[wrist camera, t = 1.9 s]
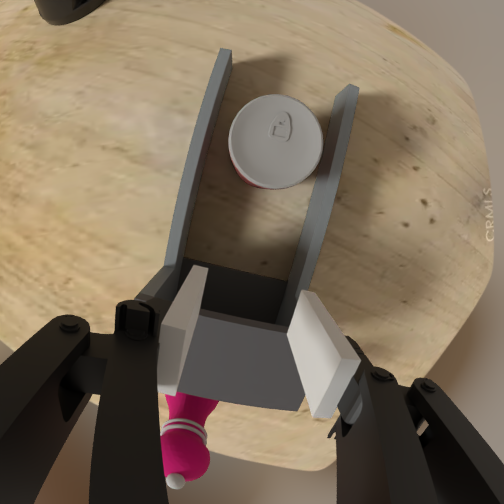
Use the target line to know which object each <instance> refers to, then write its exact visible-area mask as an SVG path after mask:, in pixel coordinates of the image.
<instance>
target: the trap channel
mask: <svg viewBox="0 0 504 504" xmlns="http://www.w3.org/2000/svg"><path fill="white" fill-rule="evenodd" d="M231 71H232V50H229V49H223V48H220V51H219V54H218V56H217V59H216V62H215V65H214V68H213V71H212V74H211V77H210V80H209V83H208V86H207V89H206V92H205V95H204V99H203V102H202V105H201V108H200V112H199V115H198V119H197V122H196V126H195V129H194V133H193V136H192V140H191V144H190V147H189V151H188V155H187V159H186V163H185V167H184V171H183V175H182V179H181V183H180V188H179V192H178V196H177V201H176V205H175V210H174V215H173V220H172V224H171V229H170V235H169V240H168V245H167V250H166V256H165V262H164V266H163V267H162V268H161V269H160V271H159V272H158V273H157V274H156V275H155V276H154V277H153V278H152V279H151V280H150V281H149V283H148V284H147V285H146V286H145V287H144V288H143V289H142V290H141V291H140V293H139V294H138V295H137V296H136V297H135V299H134V300H140V301H143V302H146V301H147V300H150V299H152V298H154V297H157V298H161V299H164V300H168V301H172V302H173V301H174V299H175V297H176V296H177V294H178V292H179V290H180V288H181V287H182V285H183V283H184V281H185V279H186V278H187V276H188V274H189V272H190V271H191V269H192V267H193V265H197V266H201V267H205V268H208V273H207V277H206V282H205V287H204V291H203V296H202V301H201V306H200V310H199V315H198V319H197V322H196V326H195V329H194V332H193V336H192V339H191V343H190V346H189V349H188V353H187V356H186V360H185V363H184V367H183V370H182V374H181V377H180V381H179V385H178V388H177V392H181V393H185V394H189V395H194V396H198V397H203V398H208V399H213V400H218V401H223V402H229V403H235V404H241V405H247V406H254V407H262V408H270V409H278V410H288V411H298V409H299V407H300V405H301V403H302V401H303V399H304V397H305V391H304V388H303V385H302V382H301V379H300V375H299V372H298V369H297V366H296V362H295V359H294V356H293V353H292V350H291V346H290V343H289V340H288V337H287V332H288V329H289V326H290V324H291V321H292V318H293V315H294V312H295V308H296V305H297V302H298V299H299V296H300V293H301V290H306V291H308V288H309V285H310V282H311V279H312V276H313V273H314V269H315V266H316V263H317V259H318V256H319V253H320V249H321V246H322V243H323V239H324V236H325V232H326V229H327V225H328V221H329V218H330V214H331V211H332V207H333V203H334V199H335V195H336V192H337V188H338V184H339V180H340V176H341V172H342V168H343V163H344V159H345V155H346V151H347V146H348V142H349V137H350V133H351V128H352V123H353V119H354V114H355V109H356V104H357V99H358V93H359V87H357V86H354V85H352V84H349V85H347V86H346V87H345V88H344V89H343V90H342V91H341V92H340V93H338V94H337V95H336V96H335V101H334V105H333V110H332V114H331V119H330V123H329V127H328V132H327V136H326V140H325V144H324V149H323V153H322V157H321V161H320V165H319V169H318V173H317V177H316V181H315V185H314V188H313V192H312V196H311V200H310V204H309V207H308V211H307V215H306V219H305V222H304V226H303V229H302V233H301V237H300V240H299V244H298V247H297V251H296V254H295V258H294V261H293V265H292V268H291V271H290V275H289V278H288V281H283V280H279V279H274V278H270V277H265V276H261V275H257V274H252V273H248V272H244V271H239V270H235V269H231V268H227V267H222V266H218V265H214V264H210V263H205V262H201V261H197V260H193V259H189V258H185V257H184V252H185V247H186V242H187V237H188V233H189V228H190V223H191V219H192V214H193V210H194V205H195V201H196V197H197V192H198V188H199V184H200V180H201V176H202V172H203V168H204V164H205V160H206V156H207V152H208V149H209V145H210V141H211V138H212V134H213V130H214V127H215V123H216V120H217V116H218V113H219V109H220V106H221V103H222V99H223V96H224V93H225V89H226V86H227V83H228V80H229V77H230V74H231Z"/></svg>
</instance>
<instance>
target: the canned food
mask: <svg viewBox="0 0 504 504" xmlns="http://www.w3.org/2000/svg"><path fill="white" fill-rule="evenodd" d="M228 142H229V152H230V156H231V160H232V163H233V166H234V168H235V170H236V172H237V174H238V175H239V176H240V178H241V179H243V180H244V181H245V182H246V183H248V184H249V185H251V186H254V187H257V188H263V189H273V190H274V189H285V188H288V187H292V186H294V185H296V184H298V183H300V182H302V181H303V180H304V179H305V178H307V177H308V176H309V175H310V174H311V173H312V172H313V170H314V169H315V168H316V166H317V164H318V162H319V161H320V158H321V154H322V150H323V133H322V130H321V126H320V124H319V122H318V120H317V118H316V116H315V115H314V113H313V112H312V111H311V110H310V109H309V108H308V107H307V106H306V105H305V104H304V103H302V102H300V101H299V100H297V99H295V98H292V97H290V96H287V95H280V94H269V95H265V96H261V97H258V98H256V99H254V100H252V101H250V102H249V103H248V104H246V105H245V106H244V107H243V108H242V109H241V110H240V111H239V112H238V114H237V115H236V117H235V119H234V120H233V123H232V125H231V128H230V132H229V139H228Z"/></svg>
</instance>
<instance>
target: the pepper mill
mask: <svg viewBox="0 0 504 504" xmlns="http://www.w3.org/2000/svg"><path fill="white" fill-rule="evenodd" d="M165 396H166V400H167V403H168V406H169V420H168V421H166V422H165V423H164V424H163V426H162V430H161V432H160V437H161V448H162V458H163V466H164V475H165V477H167V478H166V482H167V484H168V486H169V487H171V488H173V489H180V488H182V487H183V486H184V485H185V481H192V480H195V479H197V478H200V477H201V476H202V475H203V474H204V473H205V472H206V471H207V469H208V466H209V463H210V454H209V451H208V449H207V447H206V444H207V432H206V430H205V429H204V425H205V421H206V419H207V417H208V415H209V414H210V413H211V412H212V411H213V410H214V409H215V407H216V406H217V404H218V402H219V401H218V400H213V399H208V398H203V397H198V396H194V395H189V394H185V393H181V392H176V395H175V396H171V395H168V394H165Z"/></svg>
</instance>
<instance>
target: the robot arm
mask: <svg viewBox="0 0 504 504" xmlns="http://www.w3.org/2000/svg"><path fill="white" fill-rule="evenodd" d="M34 1H35V4H36V6H37V8H38V10H39V14H40V16H41V17H42V18H43V19H44V20H45V21H46V22H48V23H49V24H51V25H64V24H68V23H71V22H73V21H75V20H78V19H80V18H81V17H83V16H85V15H87V14H88V13H90V12H91V11H93V10H94V9H95V8H97V7H98V6H99V5H101V4H102V3H103V2H104V1H105V0H34ZM207 273H208V268H205V267H201V266H197V265H193V267H192V269H191V271H190V272H189V274H188V276H187V278H186V279H185V281H184V283H183V285H182V287H181V288H180V290H179V292H178V294H177V296H176V297H175V299H174V301H173V302H172V301H168V300H164V299H161V298H157V297H154V298H152V299H150V300H147V301H146V302H143V301H140V300H126V301H122V302H120V303H118V304H117V306H116V314H115V331H114V334H99V333H92V332H90V326H89V323H88V322H87V321H86V320H85V319H83V318H81V317H78V316H74V315H61V316H57V317H55V318H54V319H52V320H51V321H50V322H49V323H47V324H46V325H45V326H44V327H43V328H41V329H40V330H39V331H38V332H37V333H36V334H34V335H33V336H32V337H31V338H30V339H29V340H28V341H26V342H25V343H24V344H23V345H22V346H21V347H20V348H18V349H17V350H16V351H15V352H14V353H13V354H12V355H11V356H10V357H9V358H7V360H5V361H4V362H3V363H2V364H1V365H0V504H34V502H35V500H36V498H37V495H38V494H39V491H40V489H41V487H42V485H43V483H44V481H45V479H46V477H47V475H48V473H49V471H50V469H51V468H52V466H53V464H54V462H55V460H56V458H57V456H58V454H59V452H60V450H61V449H62V447H63V445H64V443H65V441H66V440H67V438H68V436H69V434H70V432H71V431H72V429H73V427H74V425H75V424H76V422H77V420H78V418H79V416H80V415H81V413H82V412H83V410H84V408H85V406H86V405H87V403H88V401H89V400H90V398H91V396H92V394H98V395H100V401H99V407H98V414H97V419H96V426H95V434H94V442H93V450H92V460H91V473H90V487H89V504H169V502H168V496H167V489H166V483H165V475H164V466H163V458H162V448H161V437H160V424H159V408H158V392H160V393H164V394H168V395H171V396H175V395H176V392H177V388H178V385H179V381H180V377H181V374H182V370H183V367H184V363H185V360H186V356H187V353H188V349H189V346H190V343H191V339H192V336H193V332H194V329H195V326H196V322H197V319H198V315H199V310H200V306H201V301H202V296H203V291H204V287H205V282H206V277H207ZM287 337H288V340H289V343H290V346H291V350H292V353H293V356H294V359H295V362H296V366H297V369H298V372H299V375H300V379H301V382H302V385H303V388H304V391H305V395H306V398H307V401H308V404H309V408H310V411H311V414H312V417H316V418H331V417H332V415H333V414H334V412H335V410H336V408H337V407H338V409H339V411H340V416H339V418H338V419H337V421H336V423H335V424H334V426H333V427H332V429H331V431H330V432H329V434H328V437H327V438H331V436H332V435H333V433H335V432H336V436H335V438H334V439H336V452H337V504H504V464H503V463H502V462H501V460H500V459H499V458H498V456H497V455H496V454H495V453H494V451H493V450H492V449H491V447H490V446H489V445H488V444H487V443H486V441H485V440H484V439H483V438H482V436H481V435H480V434H479V433H478V431H477V430H476V429H475V428H474V427H473V425H472V424H471V423H470V422H469V421H468V419H467V418H466V417H465V416H464V415H463V413H462V412H461V411H460V410H459V409H458V408H457V406H456V405H455V404H454V403H453V402H452V401H451V399H450V398H449V397H448V396H447V395H446V394H445V393H444V391H443V390H442V389H441V388H440V387H439V386H438V385H437V384H436V383H434V382H433V381H432V380H430V379H429V380H428V379H427V378H416V379H415V380H414V382H413V383H412V385H411V387H405V386H401V385H398V383H397V380H396V378H395V377H394V375H393V374H392V373H390V372H389V371H387V370H385V369H383V368H379V367H374V366H373V365H372V364H371V362H370V361H369V360H368V358H367V357H366V355H364V352H363V351H362V350H360V349H361V348H360V347H359V345H358V344H357V343H356V342H355V341H354V340H353V339H351V338H350V337H349V336H345V335H344V334H343V333H342V331H341V330H340V328H339V327H338V325H337V324H336V322H335V321H334V319H333V318H332V316H331V315H330V313H329V312H328V311H327V309H326V308H325V306H324V305H323V303H322V302H321V300H320V299H319V297H318V296H317V295H316V293H315V292H311V291H306V290H301V293H300V296H299V299H298V302H297V305H296V308H295V312H294V315H293V318H292V321H291V324H290V326H289V329H288V332H287ZM425 420H426V421H427V422H428V424H429V426H428V427H427V428H426V429H425V431H424V432H423V433H422V435H421V436H419V435H418V434H417V430H418V429H419V428H420V426H421V425H422V423H423V422H424V421H425Z"/></svg>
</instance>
